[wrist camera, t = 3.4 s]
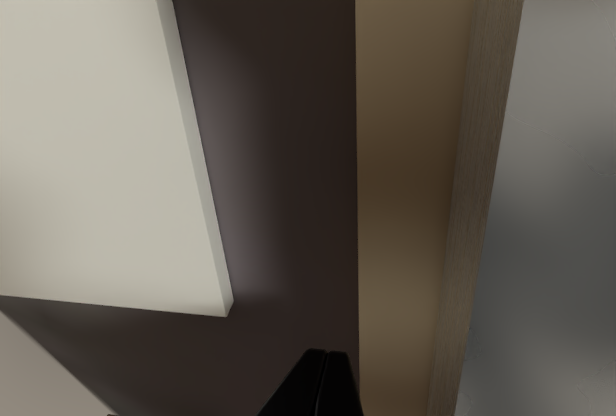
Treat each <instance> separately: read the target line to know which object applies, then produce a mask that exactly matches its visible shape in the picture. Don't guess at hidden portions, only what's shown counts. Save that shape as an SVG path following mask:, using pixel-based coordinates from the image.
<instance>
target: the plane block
mask: <svg viewBox="0 0 616 416" xmlns="http://www.w3.org/2000/svg"><path fill="white" fill-rule="evenodd" d="M473 6H474V0H355V15H356V104H357V194H358V283H359V373H360V402H361V406H362V410H363V414H364V416H427V407H428V398H429V390H430V381H431V372H432V364H433V355H434V346H435V337H436V329H437V320H438V311H439V302H440V294H441V285H442V276H443V268H444V259H445V250H446V241H447V233H448V224H449V215H450V206H451V198H452V189H453V180H454V172H455V163H456V154H457V145H458V137H459V128H460V119H461V110H462V102H463V93H464V84H465V76H466V67H467V58H468V49H469V41H470V32H471V23H472V14H473Z"/></svg>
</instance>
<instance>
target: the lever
mask: <svg viewBox="0 0 616 416" xmlns="http://www.w3.org/2000/svg"><path fill="white" fill-rule="evenodd" d="M427 416H616V0H474V6H473V14H472V23H471V32H470V41H469V49H468V58H467V67H466V76H465V84H464V93H463V102H462V110H461V119H460V128H459V137H458V145H457V154H456V163H455V172H454V180H453V189H452V198H451V206H450V215H449V224H448V233H447V241H446V250H445V259H444V268H443V276H442V285H441V294H440V302H439V311H438V320H437V329H436V337H435V346H434V355H433V364H432V372H431V381H430V390H429V398H428V407H427Z"/></svg>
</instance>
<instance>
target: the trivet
mask: <svg viewBox="0 0 616 416" xmlns="http://www.w3.org/2000/svg"><path fill="white" fill-rule="evenodd" d="M0 295H5V296H15V297H26V298H36V299H46V300H56V301H66V302H77V303H87V304H97V305H107V306H117V307H128V308H138V309H148V310H158V311H168V312H179V313H189V314H199V315H209V316H220V317H227V315H228V313H229V311H230V308H231V306H232V304H233V302H234V299H233V294H232V290H231V285H230V280H229V275H228V270H227V265H226V260H225V255H224V251H223V246H222V241H221V236H220V231H219V226H218V221H217V216H216V212H215V207H214V202H213V197H212V192H211V187H210V182H209V177H208V173H207V168H206V163H205V158H204V153H203V148H202V143H201V138H200V134H199V129H198V124H197V119H196V114H195V109H194V104H193V99H192V95H191V90H190V85H189V80H188V75H187V70H186V65H185V60H184V56H183V51H182V46H181V41H180V36H179V31H178V26H177V21H176V17H175V12H174V7H173V2H172V0H0Z"/></svg>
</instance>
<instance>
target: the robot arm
mask: <svg viewBox="0 0 616 416" xmlns="http://www.w3.org/2000/svg"><path fill="white" fill-rule="evenodd" d="M255 416H364V414H363V410H362V406H361V402H360V397H359V393H358V389H357V385H356V381H355V377H354V373H353V369H352V365H351V361H350V357H349V354H348V353H347V352H342V351H329V352H327V351H326V350H322V349H313V348H310V349H308V350H306V352H305V353H304V354H303V355H302V357H301V358H300V359H299V360H298V362H297V363H296V364H295V365H294V367H293V368H292V369H291V371H290V372H289V373H288V374H287V376H286V377H285V378H284V379H283V381H282V382H281V383H280V384H279V386H278V387H277V388H276V389H275V391H274V392H273V393H272V395H271V396H270V397H269V398H268V400H267V401H266V402H265V403H264V405H263V406H262V407H261V408H260V410H259V411H258V412H257V414H256V415H255Z"/></svg>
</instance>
